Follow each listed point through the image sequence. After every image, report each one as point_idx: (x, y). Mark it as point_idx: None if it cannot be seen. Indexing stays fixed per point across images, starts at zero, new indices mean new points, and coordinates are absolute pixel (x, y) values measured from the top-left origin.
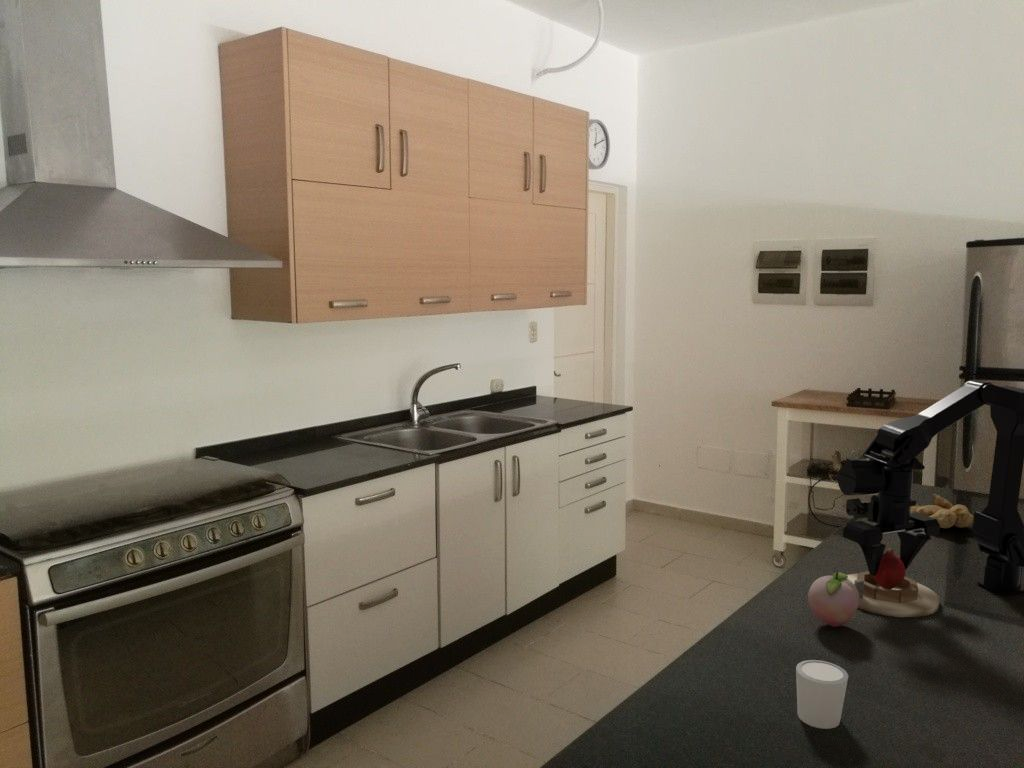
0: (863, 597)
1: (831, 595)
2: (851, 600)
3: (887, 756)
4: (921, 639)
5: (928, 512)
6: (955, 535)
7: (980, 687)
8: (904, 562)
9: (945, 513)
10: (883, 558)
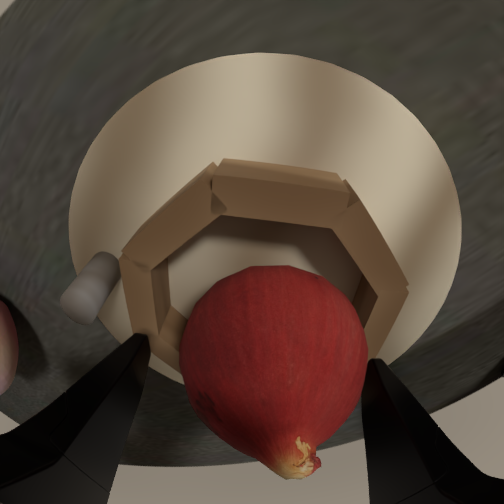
0: (121, 280)
1: None
2: None
3: (6, 415)
4: (140, 408)
5: None
6: None
7: (126, 453)
8: (369, 406)
9: None
10: (211, 426)
